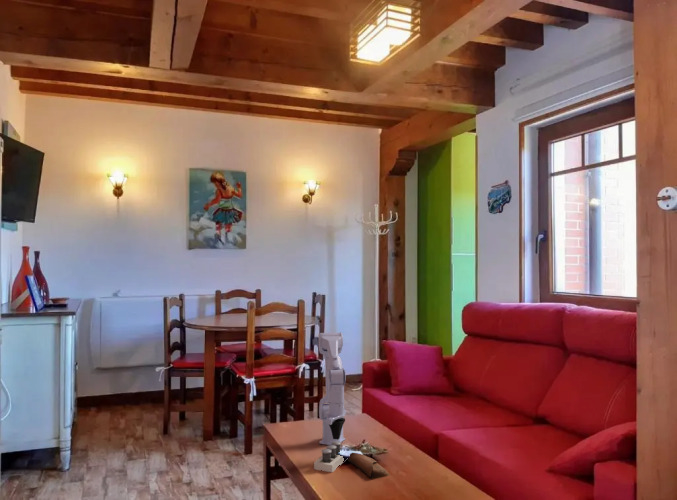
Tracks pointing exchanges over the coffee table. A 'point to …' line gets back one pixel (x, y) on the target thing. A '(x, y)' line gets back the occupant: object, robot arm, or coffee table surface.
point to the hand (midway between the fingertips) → (336, 438)
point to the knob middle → (333, 448)
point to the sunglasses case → (368, 465)
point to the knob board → (328, 464)
